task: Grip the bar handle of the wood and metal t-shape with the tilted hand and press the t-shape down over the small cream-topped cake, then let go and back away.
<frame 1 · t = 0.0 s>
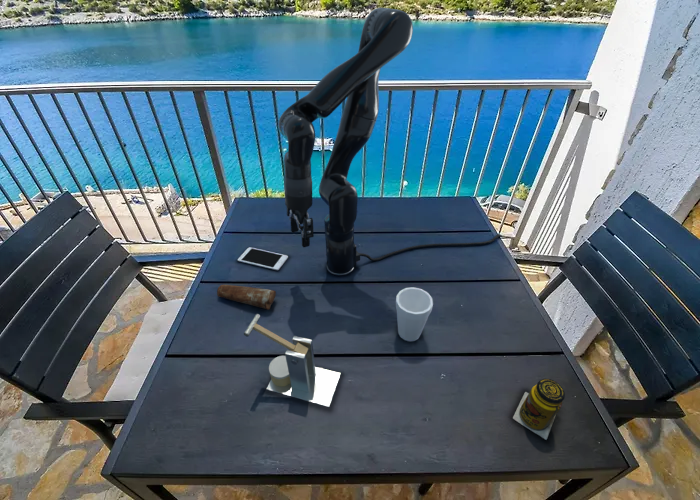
hand: (300, 238, 104), 17 cm above the table, tool pointing down, fingers open, 8 cm apart
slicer: (304, 383, 86), on the table
cell phone: (263, 259, 123), on the table
foam cup: (409, 332, 98), on the table
condiment: (534, 415, 80), on the table
wood and metal t-shape: (277, 339, 77), point 16 cm above the table, hinge at 28.0°
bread: (246, 302, 107), on the table
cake: (283, 375, 87), resting on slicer
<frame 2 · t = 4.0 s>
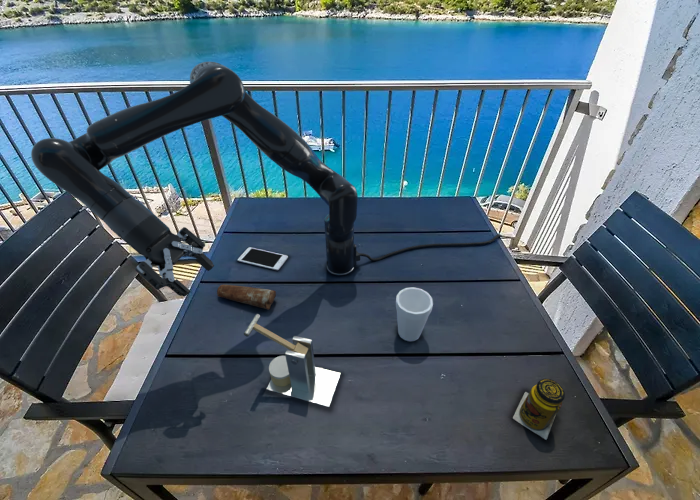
hand: (200, 280, 74), 28 cm above the table, tool tilted 40°, fingers open, 8 cm apart
nothing on the table moved.
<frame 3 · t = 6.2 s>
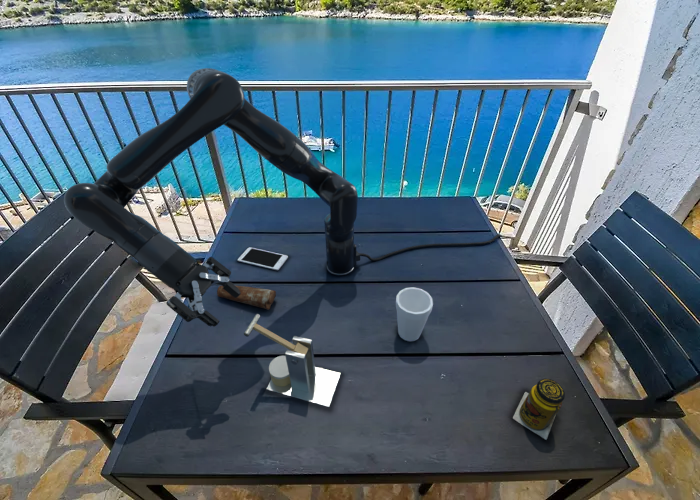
hand: (228, 309, 76), 22 cm above the table, tool tilted 45°, fingers open, 8 cm apart
nothing on the table moved.
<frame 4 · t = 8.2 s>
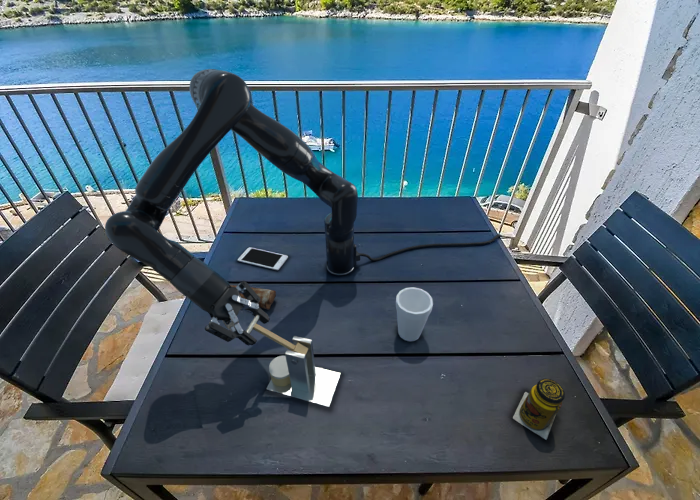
hand: (260, 331, 77), 17 cm above the table, tool tilted 45°, fingers closed on wood and metal t-shape, 5 cm apart
wood and metal t-shape: (277, 339, 77), point 16 cm above the table, hinge at 28.0°, touching gripper
everything else where it was.
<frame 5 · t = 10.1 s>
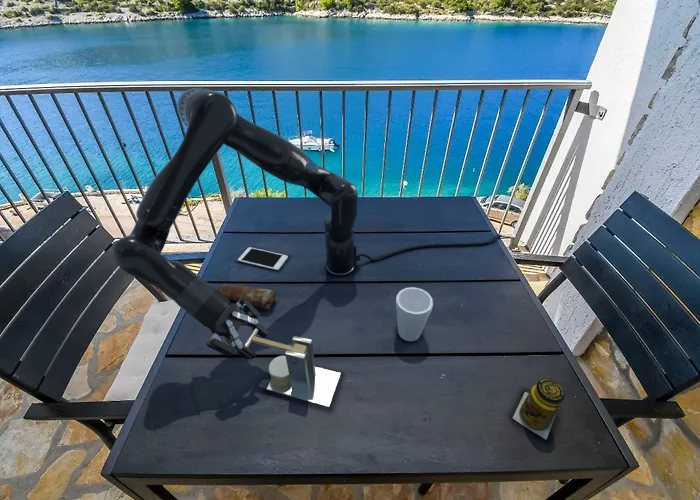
hand: (260, 346, 81), 11 cm above the table, tool tilted 45°, fingers closed on wood and metal t-shape, 5 cm apart
wood and metal t-shape: (276, 345, 79), point 13 cm above the table, hinge at 1.4°, touching gripper
everything else where it was.
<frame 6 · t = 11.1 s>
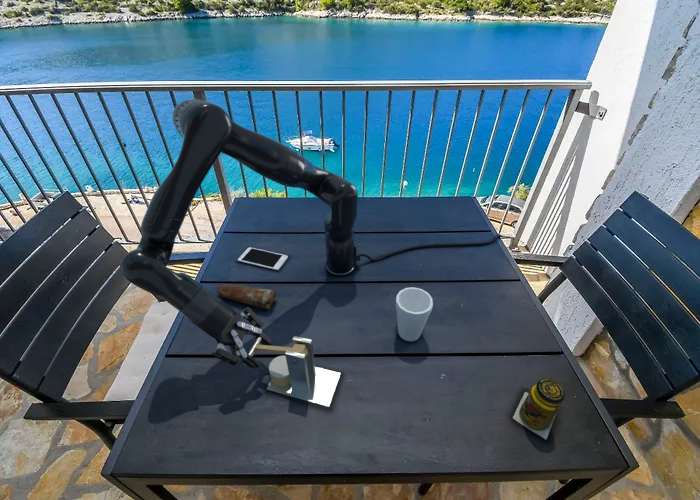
hand: (263, 354, 83), 8 cm above the table, tool tilted 45°, fingers closed on wood and metal t-shape, 5 cm apart
wood and metal t-shape: (278, 349, 80), point 12 cm above the table, hinge at -13.6°, touching gripper
everything else where it was.
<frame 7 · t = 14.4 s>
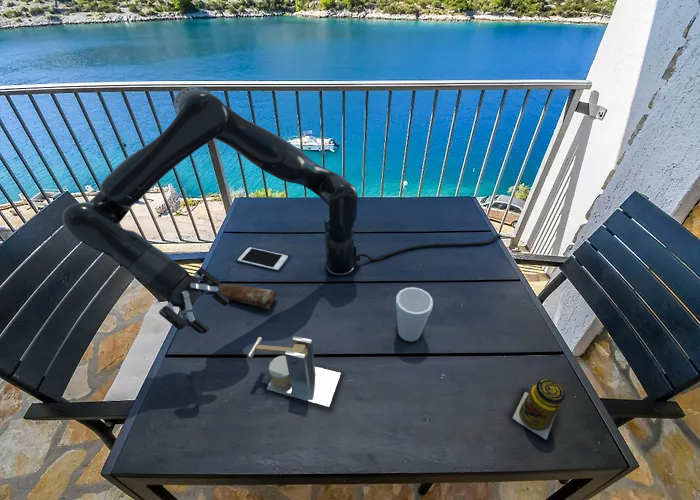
hand: (217, 317, 81), 17 cm above the table, tool tilted 45°, fingers open, 8 cm apart
wood and metal t-shape: (278, 349, 80), point 12 cm above the table, hinge at -14.2°
everything else where it was.
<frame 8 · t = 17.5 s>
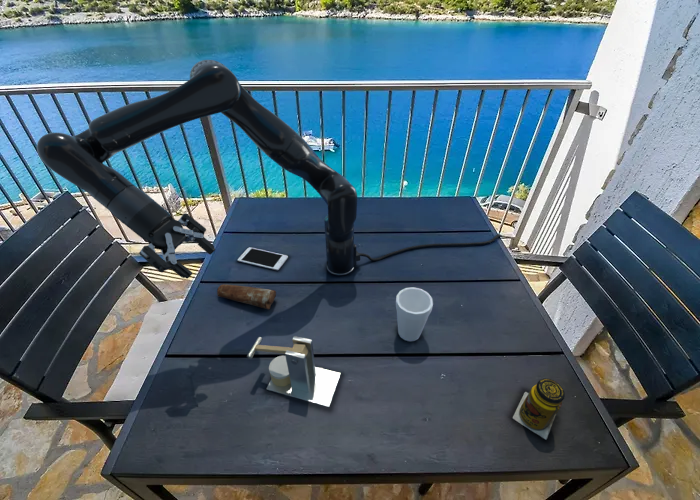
hand: (202, 263, 78), 29 cm above the table, tool tilted 45°, fingers open, 8 cm apart
nothing on the table moved.
at the end: wood and metal t-shape at -14° (first picture: +28°); the gripper is holding nothing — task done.
